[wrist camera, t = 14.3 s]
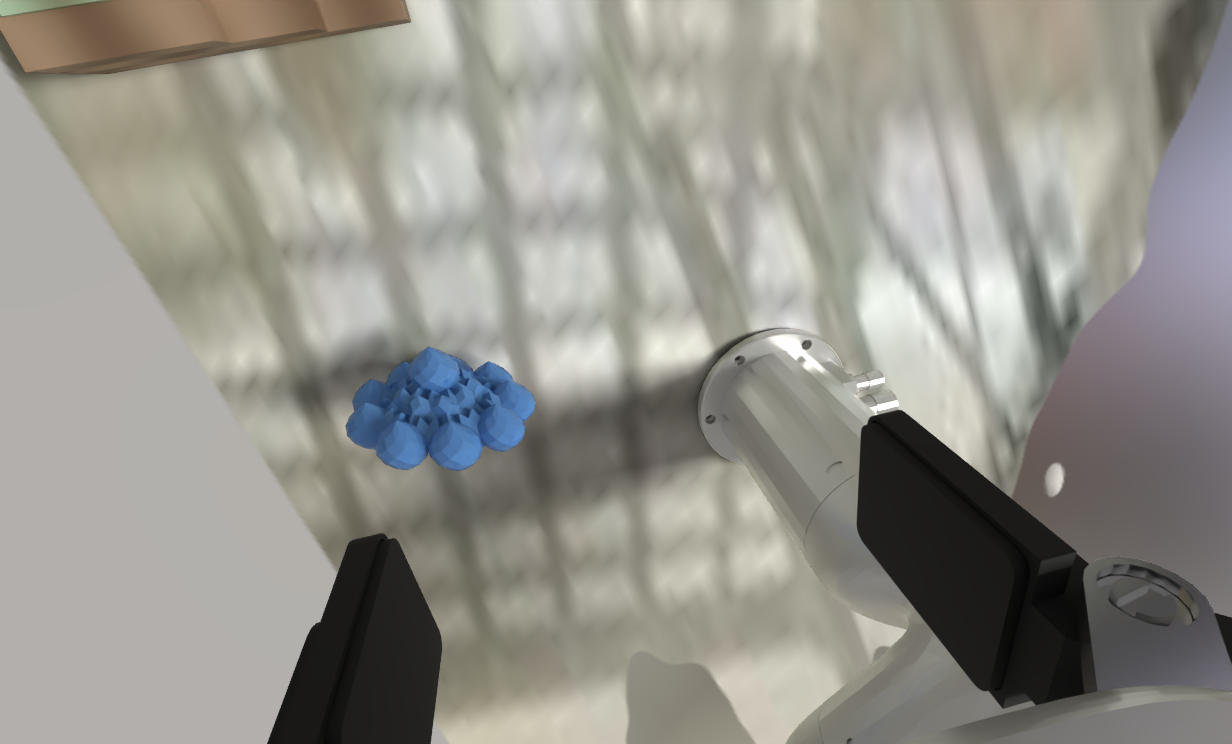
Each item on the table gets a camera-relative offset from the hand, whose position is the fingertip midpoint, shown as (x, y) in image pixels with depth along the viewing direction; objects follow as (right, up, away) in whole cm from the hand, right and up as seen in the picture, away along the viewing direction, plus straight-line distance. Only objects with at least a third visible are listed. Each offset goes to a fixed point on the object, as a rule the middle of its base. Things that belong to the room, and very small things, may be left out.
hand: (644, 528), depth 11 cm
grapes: (-13, +4, +29) cm, 32 cm away
